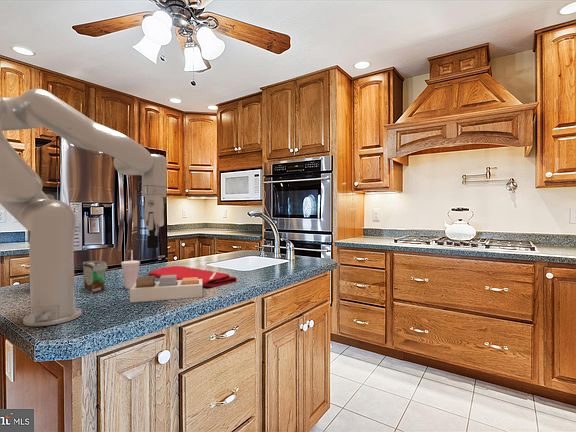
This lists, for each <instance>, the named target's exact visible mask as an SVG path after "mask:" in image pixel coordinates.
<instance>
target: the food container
mask: <svg viewBox="0 0 576 432" xmlns="http://www.w3.org/2000/svg"><path fill="white" fill-rule="evenodd" d="M82 268H83V290H85V292H86V291H87V292H89V293H90V294H92V295H93V294H94V295H95V294H98V293H101V292H104V290H105V286H106V285H105V283H106V282H105V281H106V270H107V269H108V264H107V262H106V261H104V260H102V261H101V260H91V261H90V260H89V261H83V262H82Z"/></svg>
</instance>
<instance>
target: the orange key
mask: <svg viewBox="0 0 576 432" xmlns="http://www.w3.org/2000/svg"><path fill="white" fill-rule="evenodd" d="M189 284H198V277H192V278H183V279H182V285H189Z"/></svg>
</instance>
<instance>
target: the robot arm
mask: <svg viewBox="0 0 576 432" xmlns="http://www.w3.org/2000/svg"><path fill="white" fill-rule="evenodd" d="M38 128H45V129H47V130H48V131H50V132H52V133H54V134H55V135H57V136H59V137H60V138H62V139H64V140H65V141H68V143H71V144H72V145H73V146H76V147H78V148H81V149H84V150H88V151H89V150H90V151H94V152H100V153H103V154H105V155H108V156H111V157H113V158H114V159H113V167H114V169H115V170H116V171H117V172H118V173H120V174H122V175H126V176H141V197H144V210H143V211H144V212H143V213H144V215H143V216H144V217H143V223H144V226H145V227H147V239H146V240H147V241H146V243H147V244H146V247H147V249H158V248H159V240H160V239H159V238H160V237H159V229H160V227H163V226H164V225H165V217H164V216H165V213H164V210H165V207H164V206H165V205H164V198H166V197H167V182H168V181H167V178H168V177H167V176H168V175H167V174H168V162H167V161H168V159H167V157H165V156H164V155H162V154H156V153H151V152H149V150H148V149H147V148H145V147H144V146H143V145H141V143H139V142H137V141H135V140H134V139H133V138H131V137H130V136H128V135H125V134H123V133H121V132H119V131H117V130H115V129H113V128H110V127H109V126H108V127H107V126H106V125H103V124H100V123H98V122H96V121H95V120H92V119H91V118H89V117H88V116H87V115H85V114H83V113H82V112H80V111H79V110H77V109H76V108H74V107H73V106H71V105H70V104H68V102H67V103H66V102H65V101H64V100H62V99H61V98H59V97H57V96H56V95H54V93H51V92H50V91H47V90H45V89H42V88H31V89H28V90H26V91H25V92H24V93H22V94H21V95H20V96H12V97H9V96H7V97H3V96H1V94H0V205H1V206H2V207H3V208H4V209H5V210H6V211H7V212H8V213H9V214H10V215H11V216H12V217H13V218H14V219H15V220H16V221H17V222H18V223H19V224H20V225H22V227H23V228H25V229H26V230H27V231H28V230H29V231H31V233H30V244H29V246H28V248H29V249H28V250H29V251H28V252H29V253H28V259H29V260H28V262H29V273H30V285H29V290H30V291H29V300H30V301H29V304H30V307H29V308H30V310H29V311H30V314H27V315H26V316H25V317H23V319H22V324H23V325H24V326H27V327H44V326H45V327H46V326H53V325H58V324H63V323H67V322H70V321H73V320H75V319H77V318H79V317H81V315H82V309H81V308H78V307H76V304H75V302H76V301H75V257H74V256H75V255H74V250H75V249H74V248H75V247H74V246H75V233H76V225H77V223H76V222H77V218H76V215H75V212H74V210H73V208H72V207H71V206H70V205H69V204H67V203H66V202H64V201H62V200H58V199H55V200H50V199H49V198H48V197H47V196H46V194H47V193H45V192H44V191H43V186H44V185H43V181H42V178H41V177H40V175H39V174H38V173H37V172H36V170H34V169H33V168H32V167H31V166H30V165H29V164H28V163H27V162H26V161H25V160H24V159H23V158H22V156H21V155H20V154H19V153H18V152H17V150H16V149H14V147H13V146H12V144H11V143H10V142H9V140H8V139H7V137H5V135H4V132H3V131H5V132H6V131H20V130H21V131H23V130H30V129H38Z"/></svg>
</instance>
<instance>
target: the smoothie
mask: <svg viewBox="0 0 576 432" xmlns="http://www.w3.org/2000/svg"><path fill="white" fill-rule="evenodd" d="M133 256H134V254H133V249H131V250H130V260H125V261H121V263H120V265H121V267H122V273H123V274H122V275H123V280H124V287H125V290H130V289H131V288H132V286H133V285H134V284H135V283H136V279H137V278H138V277H139V269H140V265H141V261H140V260H134V259H133V258H134V257H133Z"/></svg>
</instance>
